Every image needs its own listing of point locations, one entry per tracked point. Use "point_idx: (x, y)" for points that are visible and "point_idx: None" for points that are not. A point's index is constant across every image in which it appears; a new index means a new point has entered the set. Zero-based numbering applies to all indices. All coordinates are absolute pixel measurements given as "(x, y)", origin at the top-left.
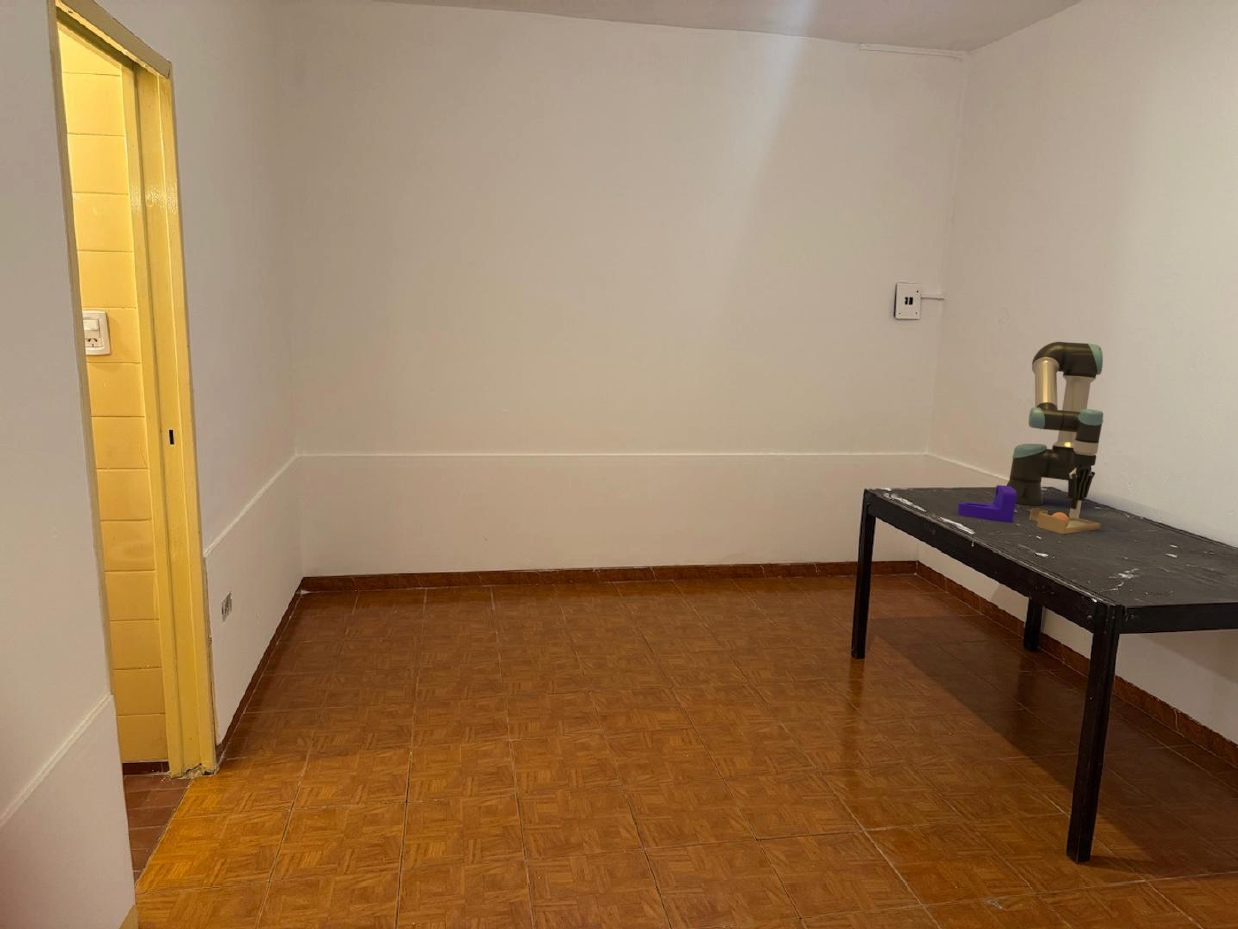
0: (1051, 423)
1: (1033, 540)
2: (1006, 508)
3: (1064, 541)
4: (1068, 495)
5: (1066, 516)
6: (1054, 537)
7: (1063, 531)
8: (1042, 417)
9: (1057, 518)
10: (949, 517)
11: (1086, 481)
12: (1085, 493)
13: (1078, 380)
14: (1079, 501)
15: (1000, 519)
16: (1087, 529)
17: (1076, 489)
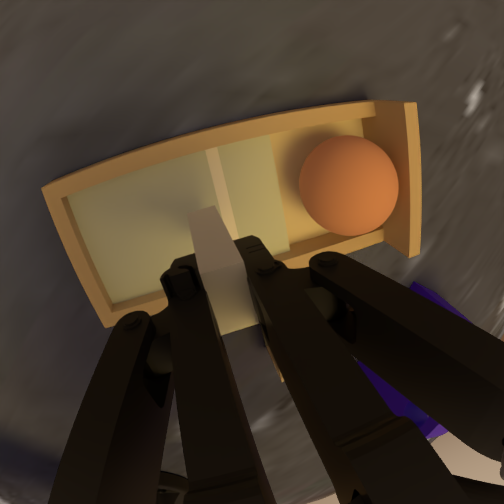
0: None
1: (500, 79)
2: (459, 314)
3: (433, 25)
4: (354, 314)
5: (360, 158)
6: (433, 74)
7: (373, 100)
8: None
9: (418, 148)
10: (492, 310)
11: (217, 490)
12: (142, 348)
13: None
14: (234, 260)
15: (438, 295)
16: (160, 141)
17: (386, 315)
